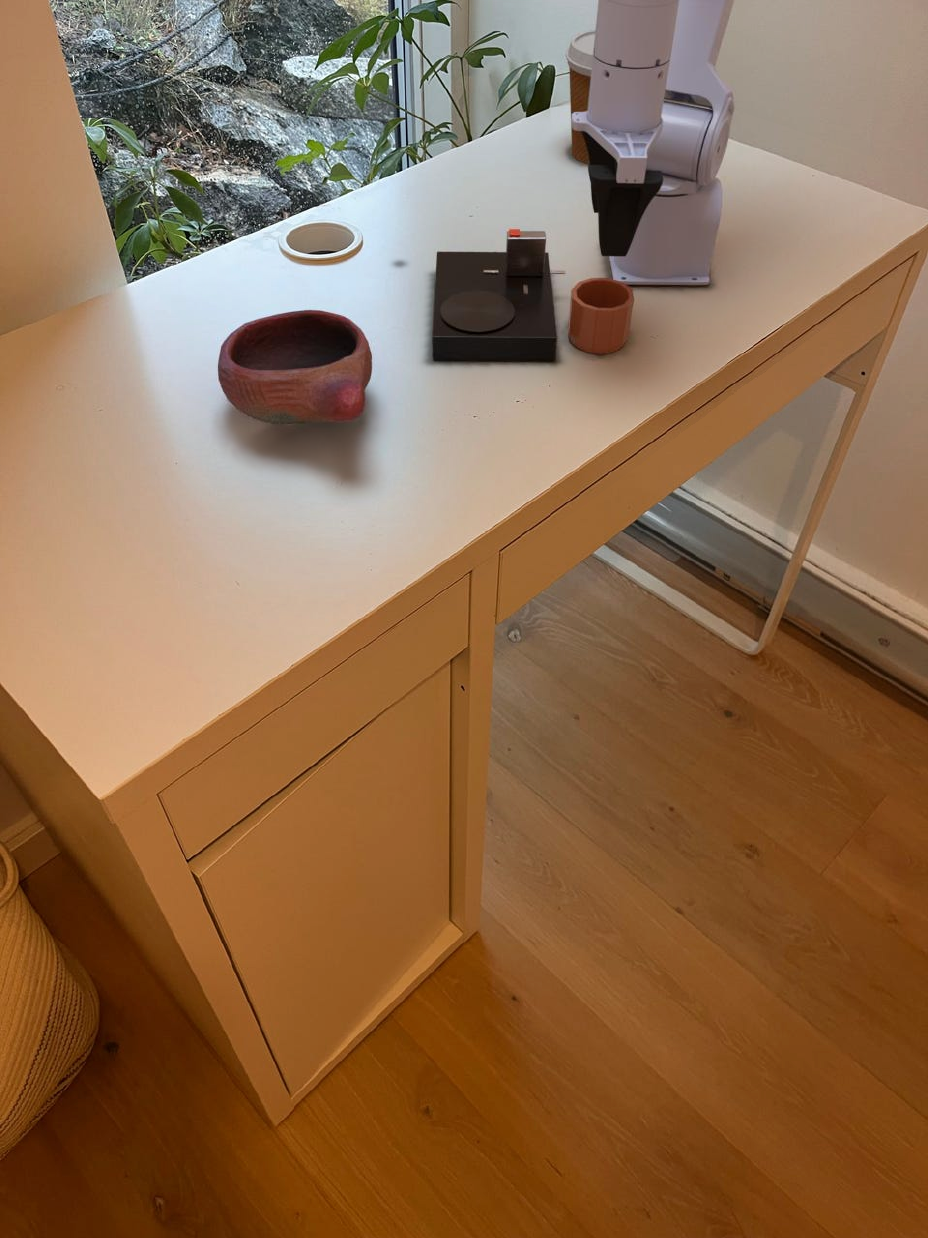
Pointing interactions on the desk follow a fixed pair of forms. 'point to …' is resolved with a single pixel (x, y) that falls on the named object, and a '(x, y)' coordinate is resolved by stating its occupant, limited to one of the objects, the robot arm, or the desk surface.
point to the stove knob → (525, 253)
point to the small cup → (600, 315)
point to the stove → (487, 272)
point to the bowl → (296, 368)
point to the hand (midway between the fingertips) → (609, 232)
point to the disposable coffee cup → (580, 84)
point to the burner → (477, 311)
